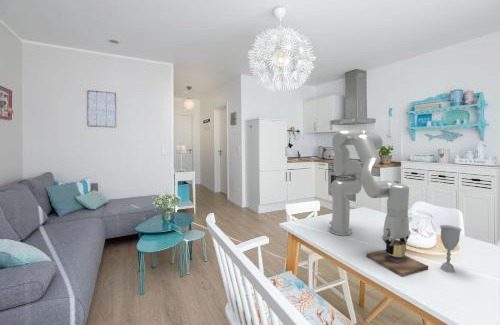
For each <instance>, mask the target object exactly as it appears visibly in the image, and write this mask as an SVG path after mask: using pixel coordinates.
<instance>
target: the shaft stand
mask: <svg viewBox="0 0 500 325" xmlns="http://www.w3.org/2000/svg"><path fill="white" fill-rule="evenodd" d="M393 244H396V245H400V243H398V242H393ZM365 255H366V258H368V259H370V260H372V261H373V262H375V263H377V264H379V265H380V266H381V267H384V268H386V269H388V270H389V271H391V272H393V273H394V274H396V275H398V276H400V277H407V276H409V275H414V274H417V273H420V272H423V271H427V270H429V266H428V265H426V264H425V263H423V262H421V261H419V260H416V259H414V258H412V257H410V256H408V255H406V254H405V256H404V257H395V256H391V255H390V254H388V253H387V252H386V248H385V249H381V250H377V251H376V250H375V251H372V252H367V253H366V254H365Z"/></svg>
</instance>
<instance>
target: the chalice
mask: <svg viewBox="0 0 500 325" xmlns="http://www.w3.org/2000/svg"><path fill="white" fill-rule="evenodd" d="M439 227H440V239H441V240H440V241H441V243H442V246H443V247H444V249H445V250H446V251H447V252H446V253H445V254H446V257H445V259H446V261H445V262H443V263H442V264H441V266H440V268H439V269H440V270H441V271H443V272H446V273H450V274H454V273H456V269H455V267H454V265H453V264H452V263H451V260H452V258H451V255H452V254H451V251H453V250H455V248H456V247H457V246H458V244H459V243H460V235H461V234H460V233H461V231H462V230H463V229H462V228H461V227H458V226H455V225H450V224H441V225H439Z"/></svg>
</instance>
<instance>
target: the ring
mask: <svg viewBox="0 0 500 325" xmlns="http://www.w3.org/2000/svg"><path fill="white" fill-rule="evenodd" d="M399 240H400V239H395V240H394V242H398V243H400V245H396V244H393V246H394V248H393V255H391V254H390V255H391V256H395V257H404V256H405V255H406V251H405V245H406V246H407V243H406V244H405V243H404V242H402V241H399ZM389 241H391V239H389ZM388 254H389V253H388Z"/></svg>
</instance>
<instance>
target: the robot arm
mask: <svg viewBox="0 0 500 325" xmlns="http://www.w3.org/2000/svg"><path fill="white" fill-rule="evenodd" d="M331 143H332V144H331V145H332V149H333V173H334V175H335V176H336V177H348V178H338V179H334V180H333V181H332V182H331V183H330V184H331V185H330V190H331V196H332V197H331V199H332V207H331V208H332V211H331V212H332V215H331V216H332V217H331V221H329V222H328V224H329V225H330V227H329V230H328V231H329V232H330V233H331V234H332V235H337V236H342V237H344V236H351V235H352V234H353V231H352V229H351V228H350V218H351V216H350V215H351V214H350V210H351V206H350V205H351V202H350V200H349V198H348V196H349V195H357V194H359V193H360V192H361V191H362V188H363V190H364V192H365V193H366V195H367V196H368V197H370V198H371V199H380V198H387V200H388V215H387V214H386V216H385V219H384V225H383V233H382V234H383V235H382V236H381V239H382V240H383V242H384V243H385V249H386V252H387V253H389V254H391V255H393V248H394V246H393V242H394V240H399V241H402V242H404V243H405V244H406V245H405V252H407V243H408V239H409V238H410V235H411V233H412V232H411V231H410V230H409V229H410V225H409V216H408V215H409V197H410V188H409V186H408V185H407V184H404V183H403V184H402V183H399V184H398V183H395V182H393V181H392V180H378V181H377V180H376V181H375V179H374V177H373V174H372V170H373V167H375V166H377V165H379V163H380V162H382V161H381V160H382V159H381V156H380V155H379V152H378V150H380V149H381V148H382V146H383V145H384V144H383V143H384V142H383V138H382V137H381V136H380V135H379V134H377V133H374V132H371V131H368V130H363V129H342V130H337V131H336V132H335V133H334V134H333V135H332V140H331ZM347 146H353V147H354V149H355V151H356V153H357V155H358V158H359V160H360V161H359V160H357V159H351V158H350V151H349V148H348V147H347ZM361 164H362V165H361ZM389 240H391V241H389Z"/></svg>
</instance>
